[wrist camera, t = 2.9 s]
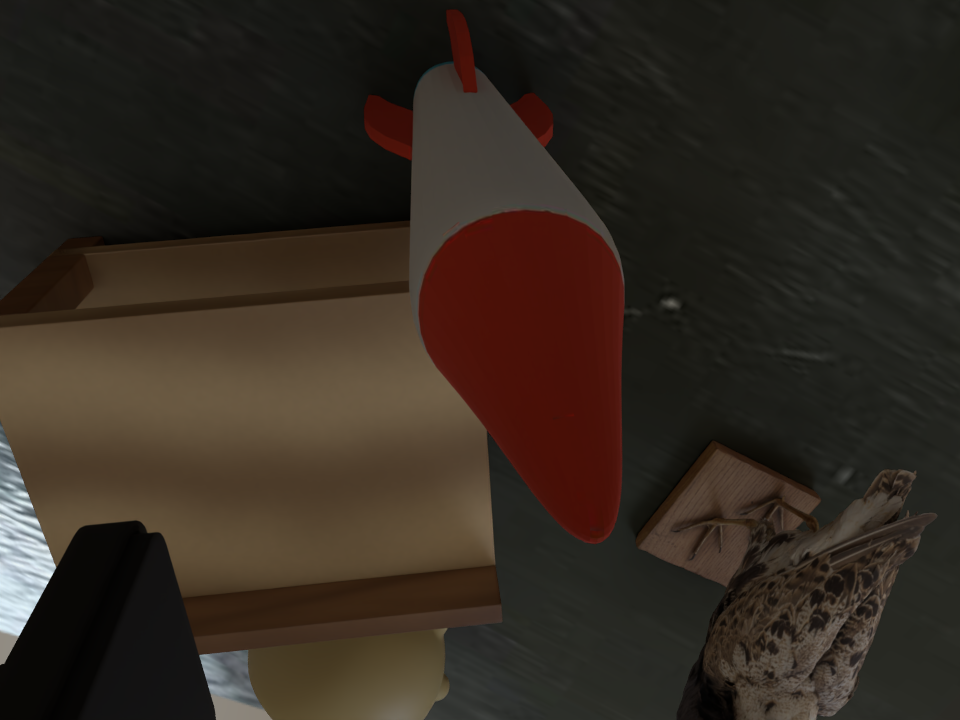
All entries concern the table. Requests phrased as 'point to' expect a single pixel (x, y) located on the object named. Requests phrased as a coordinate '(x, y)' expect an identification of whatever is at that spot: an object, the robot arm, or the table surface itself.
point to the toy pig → (352, 677)
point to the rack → (255, 430)
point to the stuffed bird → (781, 584)
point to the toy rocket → (513, 284)
